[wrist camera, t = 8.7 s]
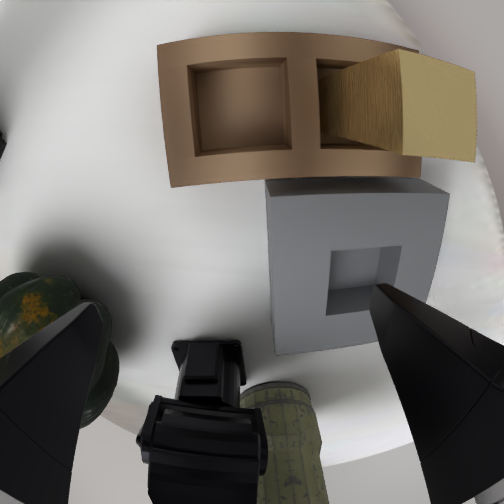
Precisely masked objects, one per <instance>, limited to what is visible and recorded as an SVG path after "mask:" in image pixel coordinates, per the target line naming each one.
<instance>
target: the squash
mask: <svg viewBox="0 0 504 504" xmlns="http://www.w3.org/2000/svg"><path fill="white" fill-rule="evenodd" d="M82 303H94V304H95V305H96V307H97V309H98V311H99V314H100V316H101V318H102V321H103V325H104V328H103V333H102V338H101V342H100V347H99V352H98V357H97V362H96V366H95V370H94V374H93V377H92V381H91V384H90V388H89V392H88V396H87V400H86V404H85V408H84V412H83V416H82V420H81V425H80V429H81V428H83V427H85V426H87V425H89V424H90V423H92V422H93V421H94V420H95V419H96V418H97V417H98V416H99V415H100V414H101V413H102V411H103V410H104V409H105V407H106V406H107V404H108V403H109V401H110V399H111V397H112V395H113V392H114V389H115V387H116V385H117V380H118V374H119V357H118V353H117V351H116V349H115V347H114V345H113V344H112V342H111V341H110V340H109V338H110V333H111V318H110V315H109V312H108V310H107V308H106V307H105V306H104V305H103V304H101V303H100V302H98V301H95V300H91V299H83V300H81V296H80V291H79V289H78V287H77V286H76V284H75V283H74V282H73V281H72V280H71V279H69V278H65V277H63V276H46V277H42V276H40V275H38V274H35V273H31V272H21V273H15V274H12V275H9V276H7V277H6V278H4V279H3V280H1V281H0V358H1V357H3V356H4V355H5V354H7V353H8V352H10V351H11V350H13V349H14V348H15V347H17V346H18V345H20V344H21V343H23V342H24V341H26V340H27V339H29V338H30V337H32V336H33V335H34V334H36V333H37V332H39V331H40V330H42V329H43V328H45V327H46V326H48V325H49V324H51V323H52V322H54V321H56V320H57V319H59V318H60V317H62V316H63V315H65V314H66V313H68V312H69V311H71V310H73V309H74V308H76V307H77V306H79V305H80V304H82Z"/></svg>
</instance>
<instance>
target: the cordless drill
mask: <svg viewBox="0 0 504 504" xmlns="http://www.w3.org/2000/svg"><path fill="white" fill-rule="evenodd" d="M2 134H3V133H2V132H1V131H0V159H1V156H2V154H3V151H4V149H5V146H6V143H5V142H4V140H3V139H2Z"/></svg>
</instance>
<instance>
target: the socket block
mask: <svg viewBox="0 0 504 504" xmlns="http://www.w3.org/2000/svg"><path fill="white" fill-rule="evenodd" d="M265 192H266V211H267V231H268V253H269V276H270V301H271V323H272V331H273V339H274V346H275V354H276V355H286V354H296V353H305V352H313V351H321V350H328V349H335V348H342V347H349V346H355V345H361V344H366V343H372V342H377V341H378V338H377V335H376V331H375V328H374V325H373V321H372V318H371V315H370V311H369V305H370V300H371V295H372V289H373V286H374V285H375V284H380V283H388V284H389V285H391V286H393V287H395V288H397V289H399V290H401V291H403V292H405V293H407V294H409V295H411V296H412V297H414V298H416V299H418V300H420V301H422V302H424V303H426V300H427V297H428V293H429V290H430V286H431V283H432V279H433V276H434V272H435V268H436V264H437V260H438V256H439V251H440V247H441V242H442V237H443V232H444V227H445V221H446V215H447V209H448V203H449V195H450V194H449V193H447V192H445V191H443V190H441V189H439V188H437V187H435V186H433V185H431V184H429V183H427V182H425V181H423V180H421V179H410V178H311V179H287V180H268V181H265Z"/></svg>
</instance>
